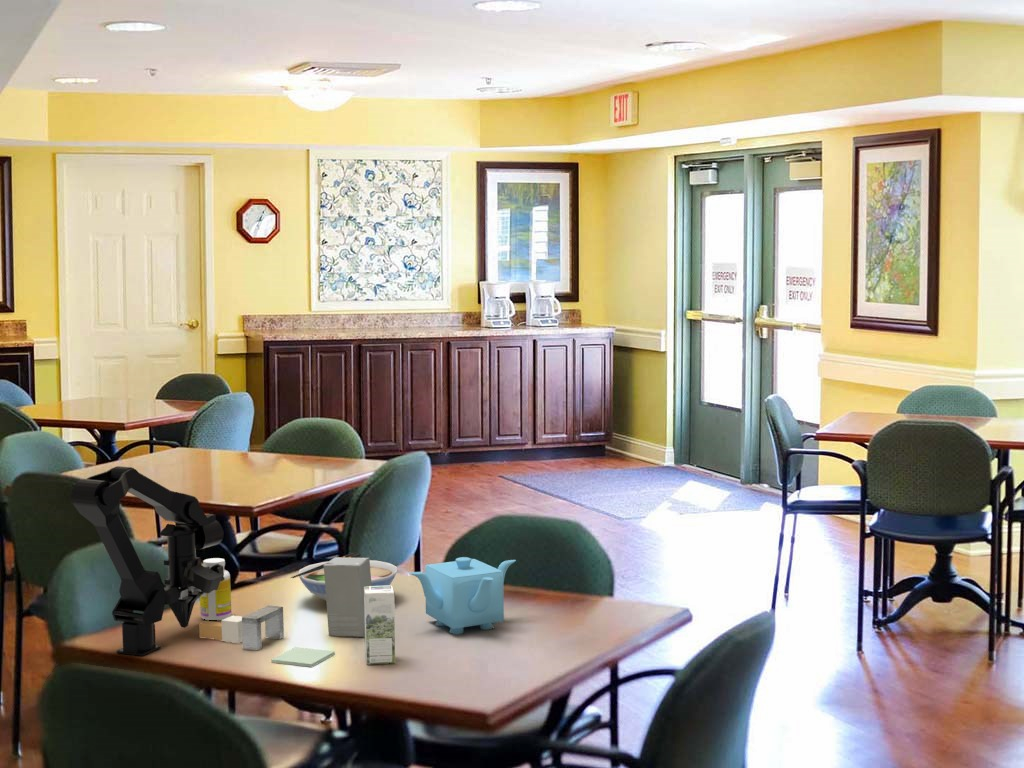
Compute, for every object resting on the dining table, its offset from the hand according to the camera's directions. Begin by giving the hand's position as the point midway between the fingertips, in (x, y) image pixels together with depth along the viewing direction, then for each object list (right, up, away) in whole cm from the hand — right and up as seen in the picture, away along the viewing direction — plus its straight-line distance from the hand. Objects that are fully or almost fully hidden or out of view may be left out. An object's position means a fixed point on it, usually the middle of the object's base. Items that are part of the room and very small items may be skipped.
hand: (184, 627), depth 291 cm
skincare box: (+35, -1, -1) cm, 35 cm away
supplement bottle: (+4, 0, +13) cm, 14 cm away
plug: (+9, -2, -3) cm, 10 cm away
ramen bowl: (+32, +1, +26) cm, 41 cm away
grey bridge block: (+18, -2, -7) cm, 19 cm away
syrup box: (+43, -3, -20) cm, 48 cm away
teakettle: (+59, -1, +3) cm, 59 cm away
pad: (+28, -3, -18) cm, 33 cm away
